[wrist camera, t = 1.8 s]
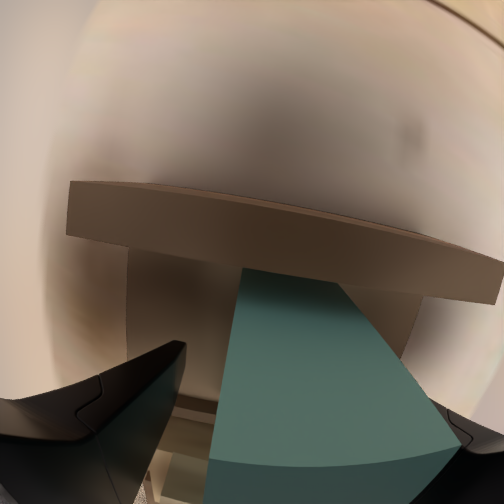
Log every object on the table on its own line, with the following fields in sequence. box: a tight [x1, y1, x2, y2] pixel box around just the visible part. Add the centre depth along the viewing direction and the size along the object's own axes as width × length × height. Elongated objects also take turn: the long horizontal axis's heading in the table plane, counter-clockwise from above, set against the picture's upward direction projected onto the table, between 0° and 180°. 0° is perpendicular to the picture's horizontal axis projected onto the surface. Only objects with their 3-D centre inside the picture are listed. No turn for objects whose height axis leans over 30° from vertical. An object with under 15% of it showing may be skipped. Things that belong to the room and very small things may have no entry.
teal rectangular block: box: [203, 268, 462, 504], centre depth 6 cm, size 6×3×8 cm, turn 170°
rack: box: [66, 181, 504, 504], centre depth 10 cm, size 24×11×5 cm, turn 170°
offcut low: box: [149, 416, 215, 503], centre depth 10 cm, size 6×8×2 cm
